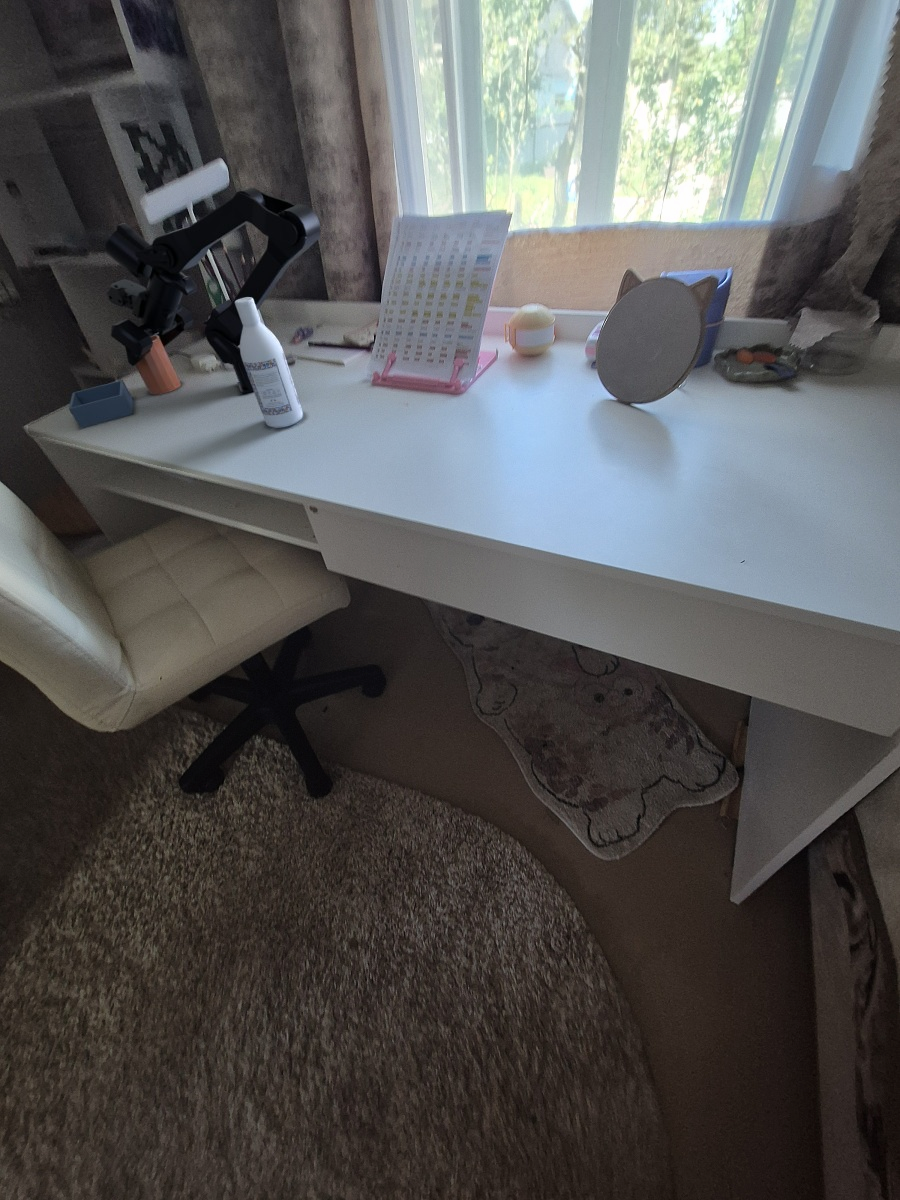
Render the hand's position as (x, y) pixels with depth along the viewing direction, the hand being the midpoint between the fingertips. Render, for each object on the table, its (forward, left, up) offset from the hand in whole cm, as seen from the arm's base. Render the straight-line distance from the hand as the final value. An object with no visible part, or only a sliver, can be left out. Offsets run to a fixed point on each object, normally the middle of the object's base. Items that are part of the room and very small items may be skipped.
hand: (145, 356), depth 112 cm
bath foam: (-37, -21, -7) cm, 43 cm away
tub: (-7, +11, -7) cm, 15 cm away
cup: (-1, -1, -7) cm, 7 cm away
